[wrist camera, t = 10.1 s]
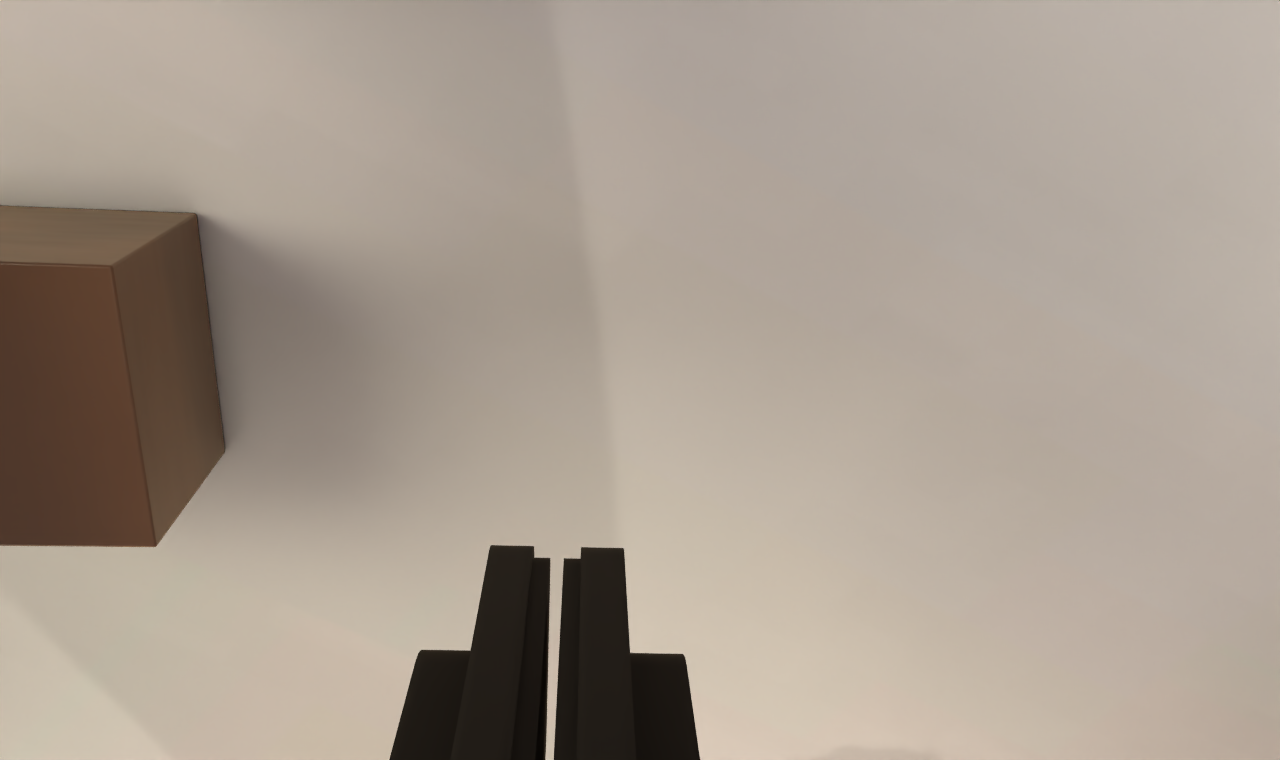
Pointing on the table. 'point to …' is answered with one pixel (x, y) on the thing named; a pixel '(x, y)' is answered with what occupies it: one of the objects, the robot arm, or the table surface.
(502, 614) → the robot arm
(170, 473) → the walnut block
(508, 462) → the table surface
